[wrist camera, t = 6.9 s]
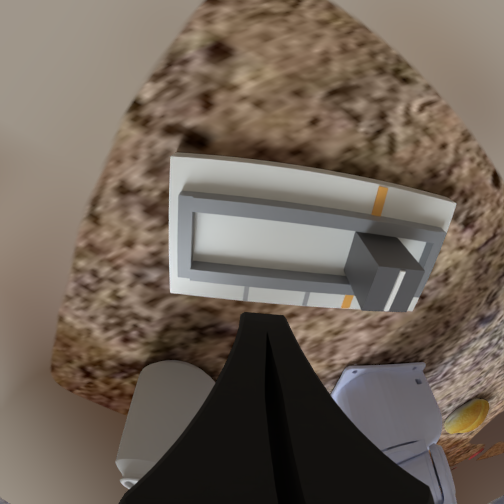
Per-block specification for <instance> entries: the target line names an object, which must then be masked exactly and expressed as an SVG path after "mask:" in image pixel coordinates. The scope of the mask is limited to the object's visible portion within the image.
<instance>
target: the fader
mask: <svg viewBox="0 0 504 504" xmlns="http://www.w3.org/2000/svg"><path fill="white" fill-rule="evenodd" d="M344 273H345V275H346V277H347V279H348V281H349V283H350V286H351V288H352V290H353V292H354V294H355V297H356V299H357V301H358V303H359V306H360V308H361V310H362V311H387V312H407V310H408V308H409V305H410V303H411V301H412V299H413V297H414V295H415V293H416V291H417V289H418V286H419V284H420V282H421V280H422V277H423V275H424V273H425V270H424V269H423V268H422V267H421V265H420V264H419V263H418V262H417V260H416V259H415V258H414V257H413V256H412V254H411V253H410V252H409V251H408V250H407V248H406V247H405V246H404V245H403V244H402V243H401V241H400V240H399V239H398V238H397V237H391V236H384V235H378V234H371V233H364V232H357V231H355V234H354V237H353V241H352V244H351V248H350V251H349V254H348V257H347V261H346V264H345V267H344Z"/></svg>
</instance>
